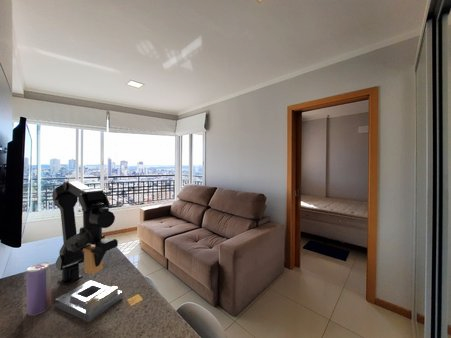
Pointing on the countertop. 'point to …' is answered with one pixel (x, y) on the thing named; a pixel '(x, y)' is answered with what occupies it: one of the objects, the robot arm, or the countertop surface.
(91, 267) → the wedge pin
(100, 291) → the grey socket base
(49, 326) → the countertop surface
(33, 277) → the beverage can
